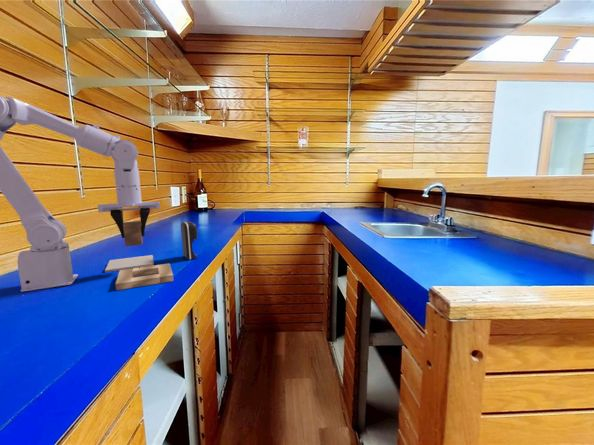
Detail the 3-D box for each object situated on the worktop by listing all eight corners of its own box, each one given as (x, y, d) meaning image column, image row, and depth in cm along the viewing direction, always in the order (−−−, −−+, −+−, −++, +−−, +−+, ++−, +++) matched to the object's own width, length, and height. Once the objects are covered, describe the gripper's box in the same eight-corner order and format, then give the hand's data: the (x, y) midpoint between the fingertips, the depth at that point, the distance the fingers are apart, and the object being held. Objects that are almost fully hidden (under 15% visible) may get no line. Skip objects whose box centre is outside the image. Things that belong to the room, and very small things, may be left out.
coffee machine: (200, 258, 93) (197, 222, 91) (187, 260, 91) (184, 223, 89) (195, 254, 99) (192, 220, 97) (183, 256, 97) (180, 221, 95)
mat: (105, 272, 81) (104, 270, 81) (110, 262, 92) (109, 260, 91) (153, 265, 86) (153, 263, 86) (152, 256, 97) (152, 254, 97)
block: (125, 246, 79) (122, 223, 78) (126, 243, 82) (124, 222, 81) (142, 244, 80) (140, 222, 79) (142, 241, 84) (140, 221, 83)
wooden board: (116, 290, 67) (115, 284, 67) (120, 275, 77) (119, 270, 77) (173, 280, 72) (173, 275, 72) (170, 268, 83) (169, 263, 82)
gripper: (93, 187, 73) (100, 242, 74) (158, 185, 79) (163, 236, 81) (97, 187, 79) (103, 237, 81) (157, 185, 85) (162, 232, 87)
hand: (133, 236), depth 81 cm, fingers closed on block, 4 cm apart
